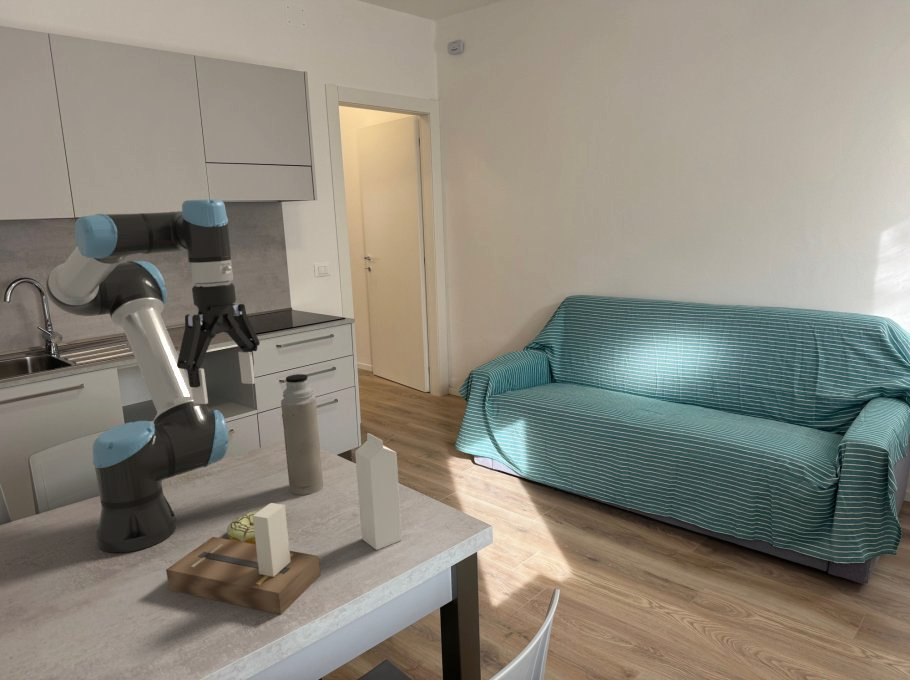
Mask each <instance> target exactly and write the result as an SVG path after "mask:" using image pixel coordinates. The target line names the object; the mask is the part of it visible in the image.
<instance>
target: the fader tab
mask: <svg viewBox="0 0 910 680" xmlns="http://www.w3.org/2000/svg"><path fill="white" fill-rule="evenodd" d="M258 511H259V510H258ZM253 523H254V532H255V541H256V550H257V558H258V567H259V574H262V575H267V576H272V577H274V576H275V575H276V574H277V573H279V572H280V571H281V570H282V569H283V568H284V567H285V566H286V565H288V564H289V563H290V562H291V560H290V551H291V550H290V542H289V532H288V522H287V513H286V505H285V504H280V503H273V502H270V503H269V504H267V505H266V506H264V507H262V508H261V509H260V511H259V512H257V513H256V514H254V515H253Z"/></svg>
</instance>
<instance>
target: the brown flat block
mask: <svg viewBox="0 0 910 680" xmlns="http://www.w3.org/2000/svg"><path fill="white" fill-rule="evenodd" d="M290 560H291V562H290V563H289V564H288V565H286V566H285V567H284V568H283V569H282V570H281V571H280V572H279V573H277V574H276V575H275V576H274V577H272V576H267V575H262V574H259V567H258V558H257V550H256V544H250V543H245V542H239V541H234V540H229V538H228V539H227V538H222V537H216V536H212V537H210V538H209V539H207V540H206V541H205V542H203V543H202V544H200V545H199V546H197V547H195V549H193V550H192V551H190V552H189V553H187V554H186V555H185V556H183V557H182V558H181V559H179V560H177V561H176V562H175V563H173V564H172V565H171V566H169V567H167V568H166V569H165V570H166V579H167V585H168V590H169V591H174V592H179V593H183V594H188V595H192V596H197V597H199V598H200V597H202V598H204V599H205V598H206V599H210V600H215V601H218V602H223V603H228V604H232V605H236V606H242V607H246V608H250V609H253V610H254V609H255V610H259V611H264V612H268V613H272V614H277V615H282V614H283V613H284V612H285V611H286V610H287V609H288V608H290V606H292V604H293V603H295V601H297V599H298V598H299V597H300V596H301V595H302V594H304V592H306V591H307V589H308V588H309V587H310V586H311V585H313V583H315V581H316V580H317V579H318V578H320V576H321V572H320V571H321V569H320V560H319V555H316V554H311V553H305V552H299V551H293V550H290Z"/></svg>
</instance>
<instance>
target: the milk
mask: <svg viewBox="0 0 910 680" xmlns="http://www.w3.org/2000/svg"><path fill="white" fill-rule="evenodd" d="M366 437H367V438H366V439H367V440H366V441H365V442H363V444H361V445H360V446H359V447H358V448H357V449H356V451H355V465H356V478H357V479H356V482H357V493H358V494H357V495H358V504H359V507H358V508H359V518H360V532H361V540H363V542H364V541H365V543H367V544H368V545H369V546H371V547H372V548H373V549H375V550H376V551H378V550H380V549H383V548H385V547H388V546H390V545H391V546H392V545H393V544H396V543H398V542H401V541H402V540H403V539H402V538H403V537H402V522H401V506H400V503H401V502H400V490H399V474H398V473H399V472H398V458H397V451H395V450H392V449H390V448H389V447H387V446H386V445H384V442H383V440H382V439H380V438H378V437H376V436H374V435H373V434H371V433H369V432H368V433H366Z"/></svg>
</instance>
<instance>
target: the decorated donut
mask: <svg viewBox="0 0 910 680" xmlns="http://www.w3.org/2000/svg"><path fill="white" fill-rule="evenodd" d="M260 510H261V509H260ZM260 510H252V511H249V512H246V513H244V514H241V515H240V516H238V517H237V518H235V519H234V520H232V521H231V522H230V523H229V525H228V526H227V529H226V534H227V537H228V540H234V541H239V542H245V543H250V544H256V541H255V532H254V523H253V515H254V514H256V513H257V512H259V511H260Z"/></svg>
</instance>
